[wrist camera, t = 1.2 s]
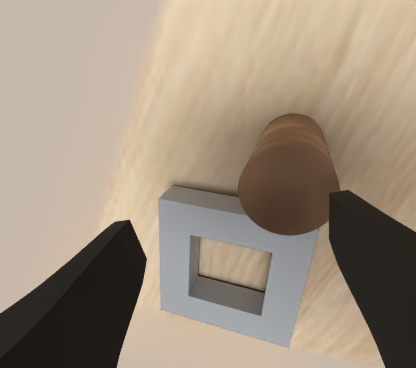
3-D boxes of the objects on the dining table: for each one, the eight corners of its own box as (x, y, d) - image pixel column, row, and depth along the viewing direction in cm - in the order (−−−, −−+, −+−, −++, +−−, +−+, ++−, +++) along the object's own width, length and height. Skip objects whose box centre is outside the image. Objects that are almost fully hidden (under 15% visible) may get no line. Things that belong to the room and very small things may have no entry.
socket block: (316, 211, 20) (319, 229, 17) (289, 322, 24) (288, 348, 22) (172, 185, 22) (158, 198, 20) (172, 289, 27) (160, 309, 25)
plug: (330, 117, 17) (351, 153, 10) (316, 177, 19) (327, 244, 12) (265, 111, 18) (243, 139, 11) (257, 168, 20) (234, 225, 13)
